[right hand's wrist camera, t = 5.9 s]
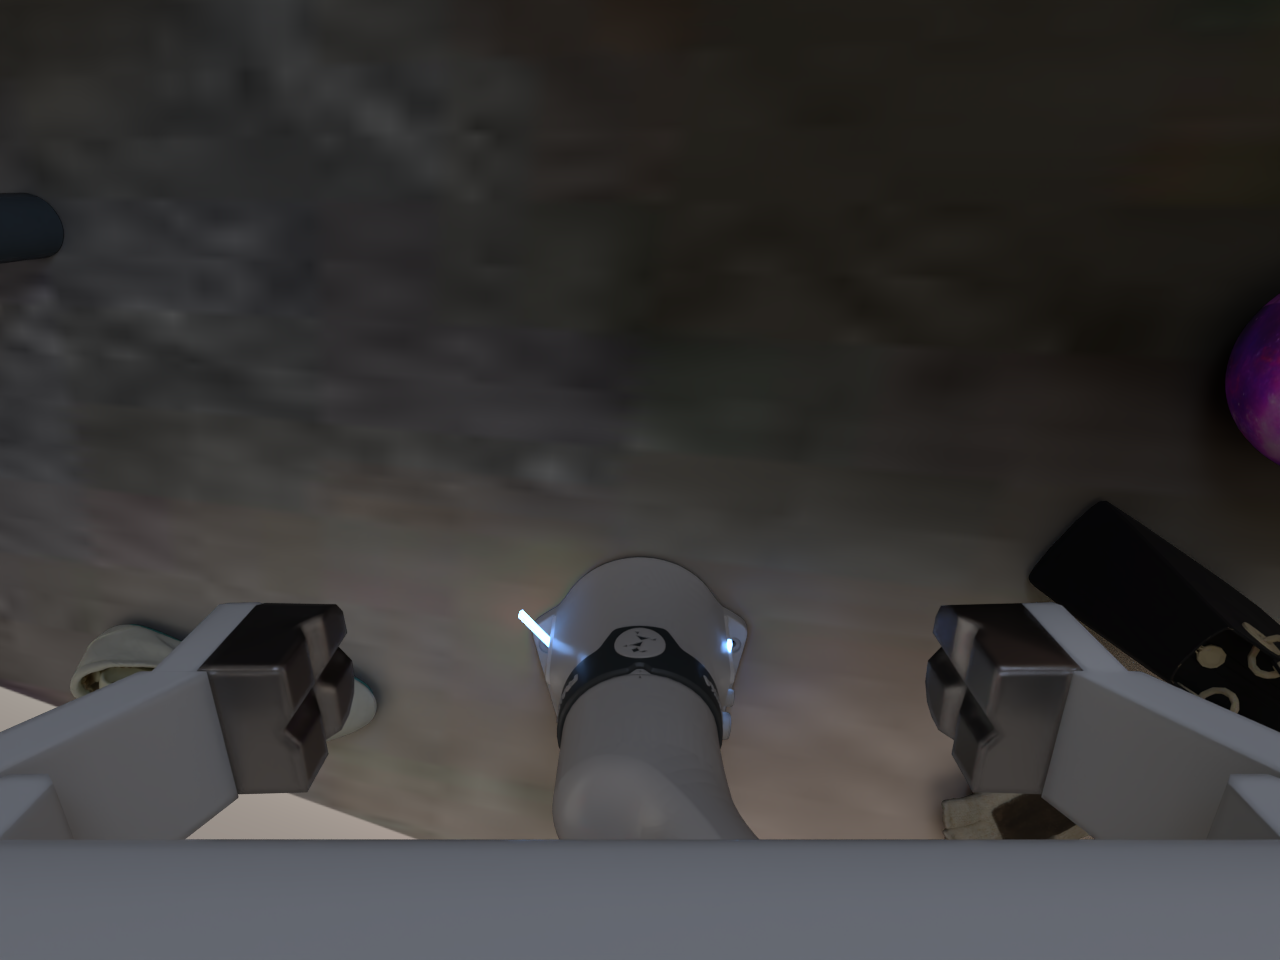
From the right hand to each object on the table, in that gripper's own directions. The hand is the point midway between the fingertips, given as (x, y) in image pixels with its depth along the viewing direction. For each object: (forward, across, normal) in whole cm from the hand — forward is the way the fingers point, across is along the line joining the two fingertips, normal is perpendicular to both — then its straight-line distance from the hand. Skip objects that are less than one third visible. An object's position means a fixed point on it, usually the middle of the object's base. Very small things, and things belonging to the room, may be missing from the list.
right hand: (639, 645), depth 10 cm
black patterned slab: (+48, +43, -27) cm, 70 cm away
